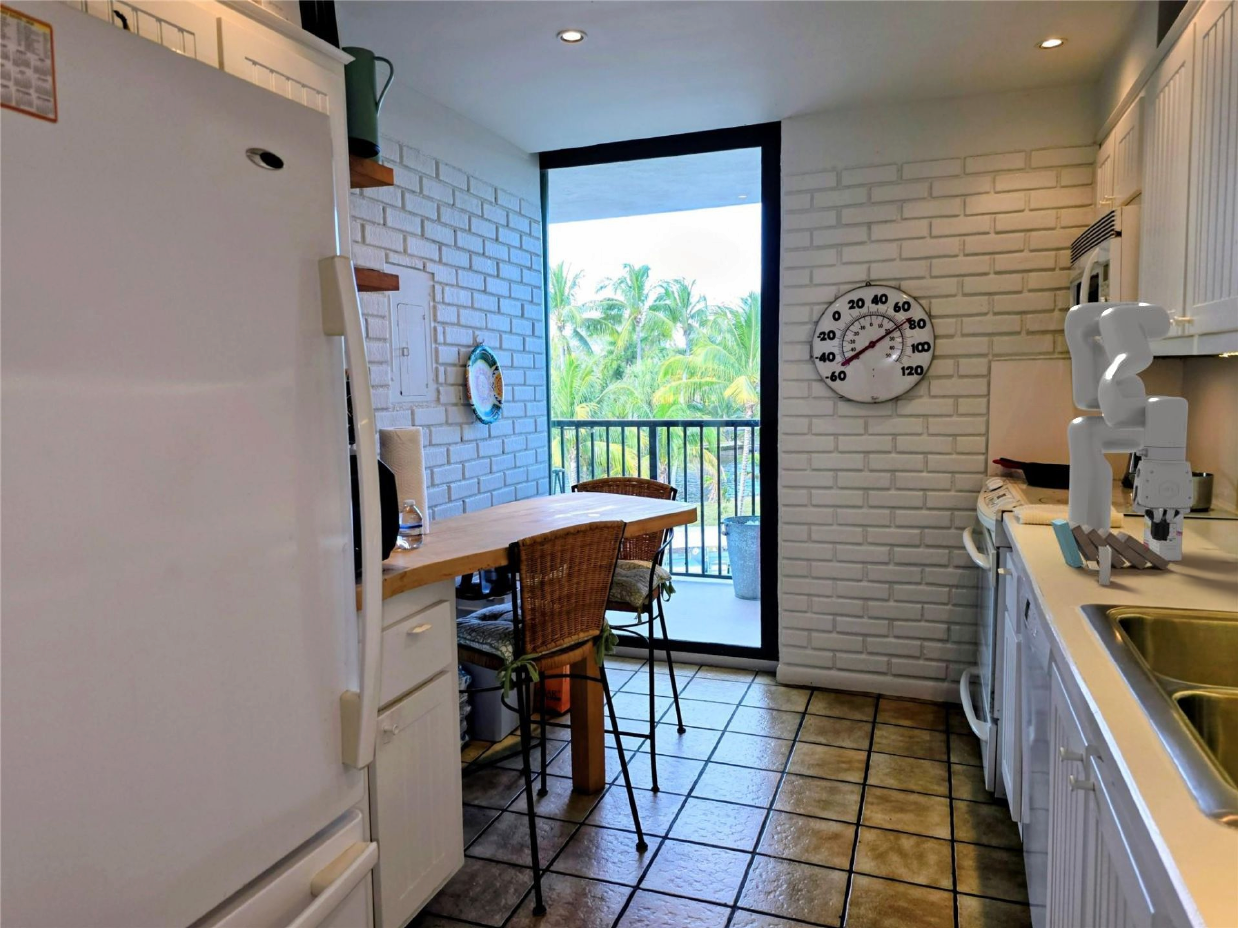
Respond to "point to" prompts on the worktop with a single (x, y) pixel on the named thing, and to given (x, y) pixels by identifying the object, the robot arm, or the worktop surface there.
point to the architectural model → (1102, 565)
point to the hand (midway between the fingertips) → (1159, 539)
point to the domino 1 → (1067, 543)
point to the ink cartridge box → (1174, 541)
